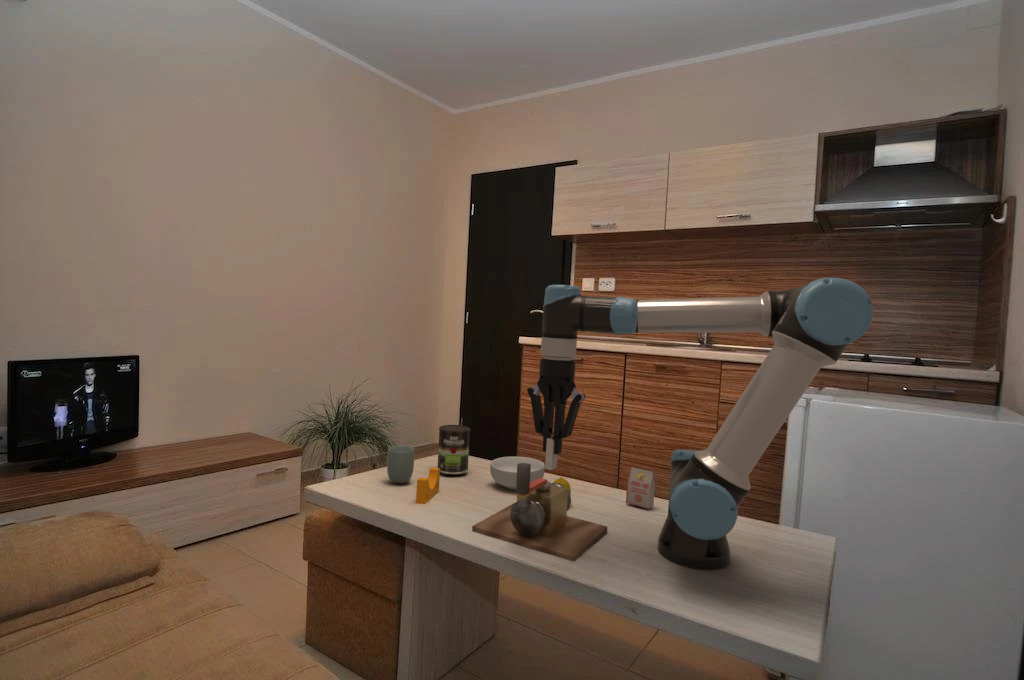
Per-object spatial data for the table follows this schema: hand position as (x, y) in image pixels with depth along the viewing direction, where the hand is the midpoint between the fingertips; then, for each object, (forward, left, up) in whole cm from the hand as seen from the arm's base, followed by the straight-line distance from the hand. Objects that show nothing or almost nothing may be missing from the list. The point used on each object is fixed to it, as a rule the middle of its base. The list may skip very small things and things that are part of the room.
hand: (550, 467), depth 108 cm
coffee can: (+54, -37, -19) cm, 68 cm away
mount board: (+7, -10, -19) cm, 23 cm away
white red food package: (-7, -45, -19) cm, 49 cm away
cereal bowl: (+29, -36, -19) cm, 50 cm away
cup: (+59, -17, -19) cm, 64 cm away
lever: (+7, -10, -8) cm, 15 cm away
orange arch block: (+45, -12, -20) cm, 50 cm away
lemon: (+11, -29, -19) cm, 36 cm away
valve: (+7, -10, -18) cm, 21 cm away
